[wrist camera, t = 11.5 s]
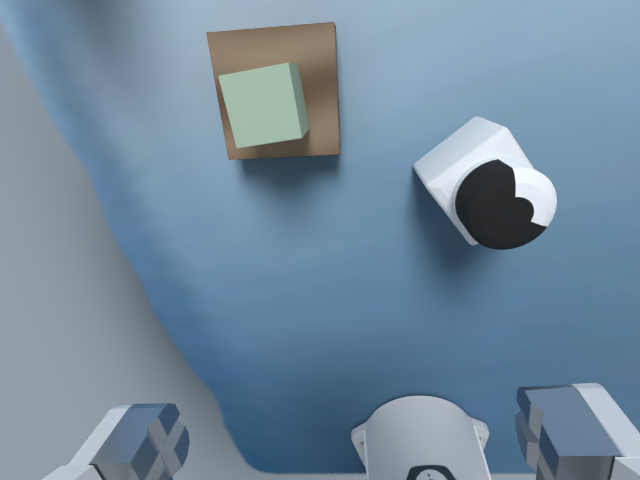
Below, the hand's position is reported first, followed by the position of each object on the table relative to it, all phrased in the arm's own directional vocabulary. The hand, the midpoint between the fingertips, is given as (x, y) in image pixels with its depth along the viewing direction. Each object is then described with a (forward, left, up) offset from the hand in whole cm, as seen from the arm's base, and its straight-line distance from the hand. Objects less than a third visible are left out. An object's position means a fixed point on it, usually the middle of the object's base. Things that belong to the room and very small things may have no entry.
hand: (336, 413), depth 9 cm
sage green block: (+6, +5, -26) cm, 27 cm away
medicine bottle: (-3, -11, -30) cm, 32 cm away
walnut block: (+6, +5, -30) cm, 31 cm away
